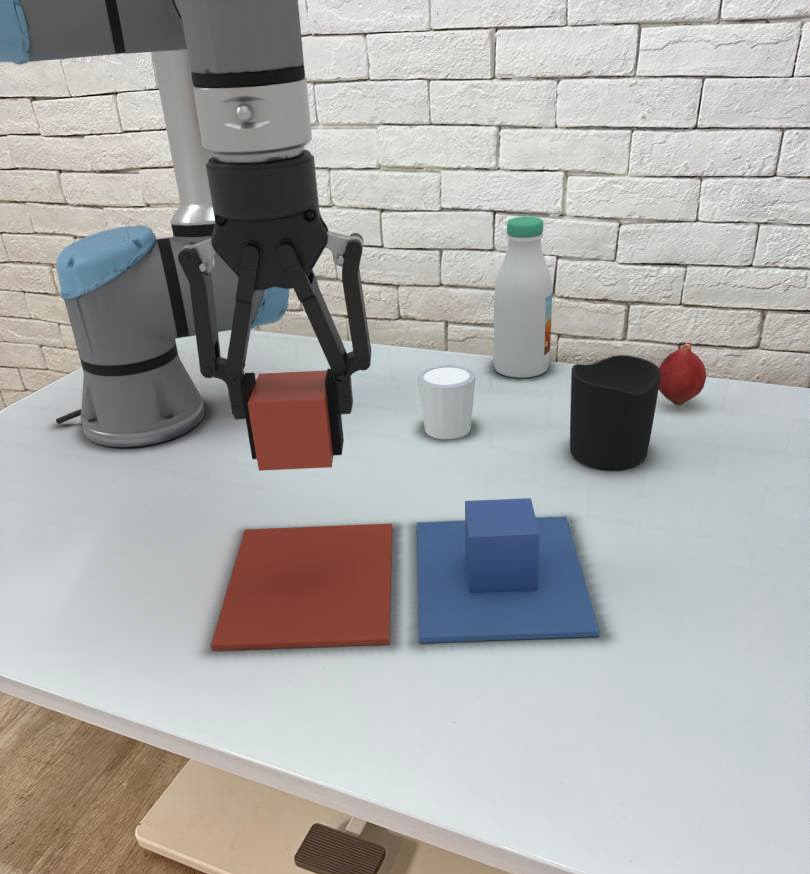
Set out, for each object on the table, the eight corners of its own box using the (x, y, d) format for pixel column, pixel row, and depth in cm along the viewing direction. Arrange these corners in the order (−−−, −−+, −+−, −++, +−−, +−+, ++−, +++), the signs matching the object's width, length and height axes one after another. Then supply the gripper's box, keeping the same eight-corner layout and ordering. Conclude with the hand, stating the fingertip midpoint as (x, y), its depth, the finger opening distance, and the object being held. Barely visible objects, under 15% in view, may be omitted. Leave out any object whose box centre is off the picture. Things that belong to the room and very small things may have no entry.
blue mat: (419, 643, 71) (418, 637, 71) (417, 527, 86) (416, 522, 86) (599, 636, 71) (599, 631, 71) (565, 521, 86) (565, 516, 86)
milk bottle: (534, 383, 115) (540, 229, 104) (483, 373, 118) (484, 224, 107) (558, 363, 120) (565, 215, 109) (508, 354, 124) (511, 210, 113)
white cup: (471, 443, 101) (471, 388, 97) (414, 440, 102) (412, 386, 99) (479, 418, 107) (479, 365, 103) (425, 415, 108) (423, 363, 104)
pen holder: (646, 477, 92) (657, 391, 87) (559, 467, 95) (564, 384, 90) (654, 439, 100) (664, 357, 94) (573, 431, 102) (578, 351, 97)
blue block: (469, 593, 76) (468, 536, 72) (465, 554, 81) (464, 500, 77) (537, 590, 76) (539, 534, 72) (529, 552, 81) (531, 497, 77)
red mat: (211, 650, 72) (210, 645, 72) (245, 534, 87) (244, 529, 87) (389, 644, 71) (388, 638, 71) (392, 528, 86) (392, 523, 86)
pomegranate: (650, 411, 106) (657, 349, 101) (657, 393, 110) (664, 333, 106) (698, 417, 104) (708, 354, 99) (703, 398, 108) (713, 337, 104)
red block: (258, 470, 69) (247, 403, 66) (268, 437, 74) (258, 373, 71) (331, 467, 69) (324, 399, 66) (336, 434, 74) (329, 369, 71)
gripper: (107, 169, 56) (176, 476, 69) (395, 153, 56) (411, 465, 68) (137, 150, 62) (195, 435, 75) (396, 135, 62) (410, 424, 75)
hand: (298, 449), depth 72 cm, fingers closed on red block, 6 cm apart
